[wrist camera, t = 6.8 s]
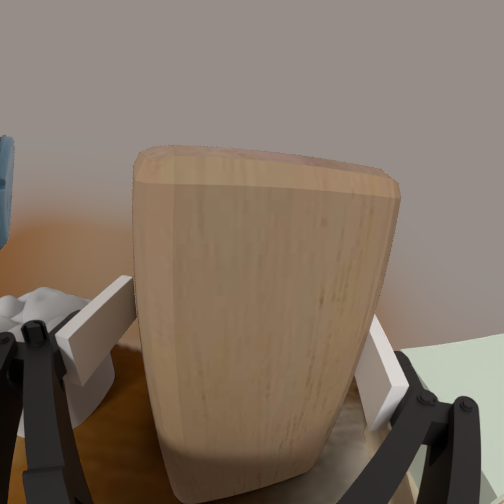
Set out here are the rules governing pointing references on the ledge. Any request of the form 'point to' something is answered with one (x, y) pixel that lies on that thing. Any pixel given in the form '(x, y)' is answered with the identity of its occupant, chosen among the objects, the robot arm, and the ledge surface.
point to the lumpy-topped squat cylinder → (52, 313)
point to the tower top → (476, 387)
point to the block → (253, 305)
